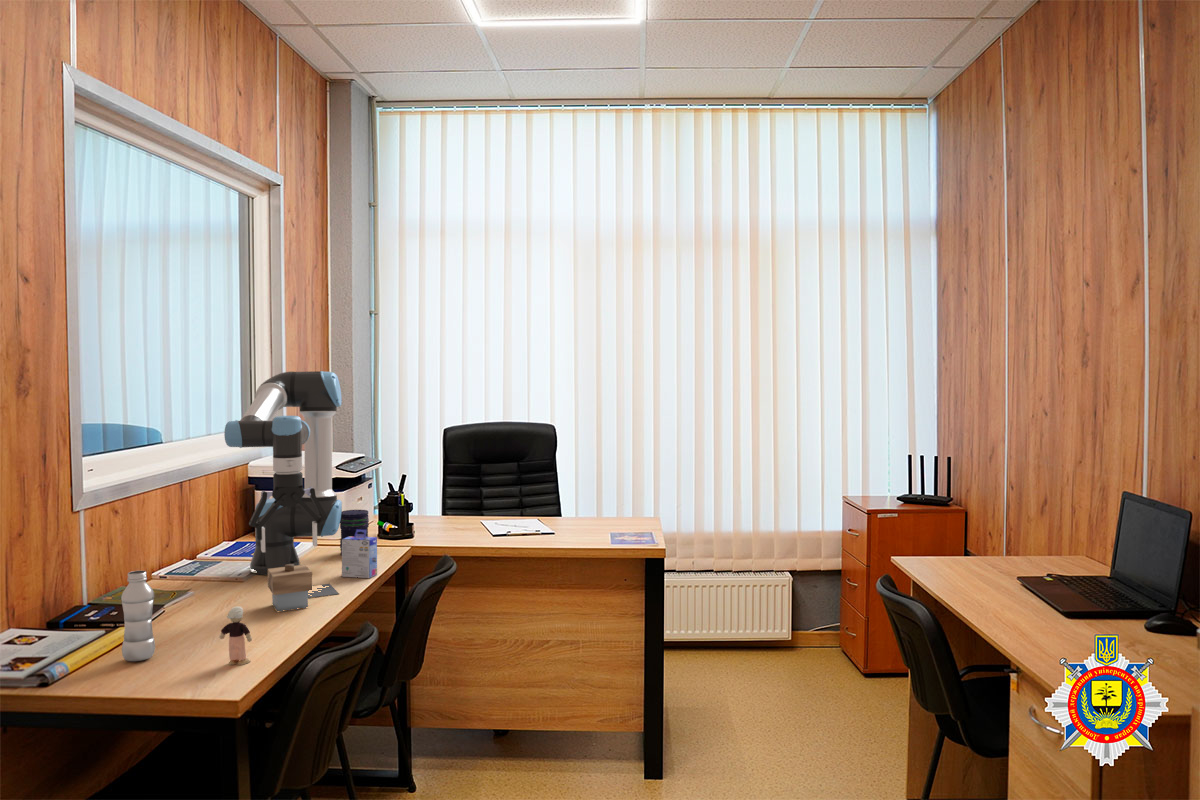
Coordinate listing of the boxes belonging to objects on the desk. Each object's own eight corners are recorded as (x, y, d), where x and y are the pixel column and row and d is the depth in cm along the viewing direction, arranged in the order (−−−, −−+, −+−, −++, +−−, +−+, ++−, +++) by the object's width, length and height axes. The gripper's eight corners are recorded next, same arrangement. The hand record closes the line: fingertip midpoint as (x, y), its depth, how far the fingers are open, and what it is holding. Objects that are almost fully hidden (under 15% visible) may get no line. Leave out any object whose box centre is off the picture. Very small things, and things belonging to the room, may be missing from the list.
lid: (267, 586, 232) (267, 563, 232) (305, 581, 237) (304, 559, 237) (273, 595, 223) (273, 571, 223) (312, 590, 228) (311, 566, 228)
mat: (284, 589, 247) (284, 589, 247) (329, 584, 253) (329, 583, 253) (292, 600, 236) (292, 599, 236) (339, 594, 242) (339, 593, 242)
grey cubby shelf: (272, 604, 232) (272, 586, 231) (302, 600, 236) (302, 583, 235) (277, 612, 225) (276, 593, 224) (307, 607, 229) (307, 589, 228)
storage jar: (355, 558, 287) (355, 515, 287) (333, 555, 292) (333, 513, 291) (375, 552, 296) (374, 510, 296) (353, 549, 301) (353, 508, 300)
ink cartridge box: (378, 574, 265) (377, 529, 264) (370, 578, 260) (369, 532, 259) (349, 573, 267) (349, 528, 266) (341, 577, 262) (340, 531, 261)
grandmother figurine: (257, 659, 189) (256, 604, 188) (250, 665, 185) (249, 609, 184) (222, 659, 188) (221, 604, 188) (215, 665, 184) (214, 609, 184)
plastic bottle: (130, 655, 191) (128, 569, 190) (160, 654, 192) (158, 568, 191) (116, 665, 185) (114, 576, 184) (148, 664, 185) (145, 575, 185)
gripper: (240, 477, 219) (242, 556, 220) (337, 470, 231) (338, 545, 233) (237, 473, 226) (238, 550, 227) (331, 467, 238) (332, 540, 239)
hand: (289, 548), depth 230 cm, fingers open, 13 cm apart
